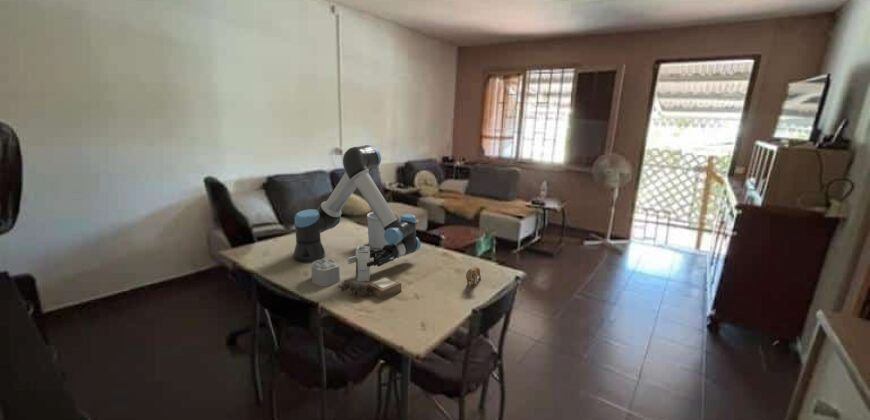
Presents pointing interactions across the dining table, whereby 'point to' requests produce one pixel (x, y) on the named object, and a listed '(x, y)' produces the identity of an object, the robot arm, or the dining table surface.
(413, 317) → the dining table surface
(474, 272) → the lion figurine
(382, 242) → the utensil holder
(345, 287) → the rhino figurine
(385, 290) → the walnut plinth
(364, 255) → the syrup box
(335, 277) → the lumpy-topped squat cylinder
